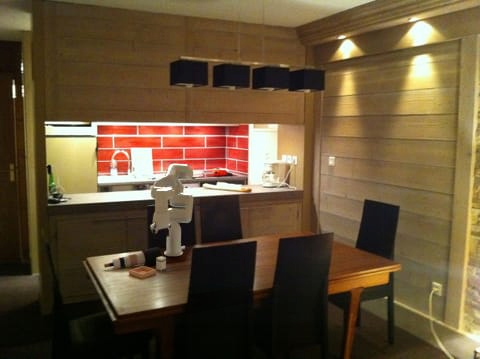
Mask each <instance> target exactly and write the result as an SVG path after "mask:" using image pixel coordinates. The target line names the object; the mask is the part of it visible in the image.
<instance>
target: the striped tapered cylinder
mask: <svg viewBox="0 0 480 359" xmlns="http://www.w3.org/2000/svg"><path fill="white" fill-rule="evenodd" d="M161 256H162V253H161V249H160V247H152V248H147V249H142V250H141V252H139V253H132V254H130V255H125V256H122V257H118V258H112V262H109V263H105V264H103V267H104V269H105V268H112V267H113V269H114V270H117V269H123V268H128V267H135V266H140V265H141V266H144V265H145V267H149V266H152V265H156V258H158V257H161Z"/></svg>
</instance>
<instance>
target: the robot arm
mask: <svg viewBox="0 0 480 359" xmlns="http://www.w3.org/2000/svg"><path fill="white" fill-rule="evenodd" d="M193 177H194V169H193V167H192V166H190V165H189V164H184V163H183V164H182V163H172V164H170V165H168V167H167V169H166V172H165V175H164V176H163V177H161V178H158V180H156V181H155V182H154V183H153V185H152V187H151V191H150V197H151V198H152V199H154V205H155V206H154V212H153V215H152V224H150V227H149V228H150V231H151V232H152V233H153V234H152V239H153V240H157V241H158V234H159V233H158V231H159V230H164V236H165V237H166V250H165V251H164V252H163V253H164V254H163V255H165V256H168V257H178V256H183V254H184V252H183V251H182V250H185V248H186V246H185V245H182V242H181V241H182V240H181V239H182V227H181V226H180V223H186V224H188V223H190V222H191V221H192V216H193V209H194V197H193V194H192V193H187V192H185V193H184V191H185V190H184V188H185V187H184V185H183V182H181V181H180V180H182V181H183V180H184V181H185V180H186V181H187V180H188V181H189V180H192V179H193ZM169 204H170V206H171V207H169Z"/></svg>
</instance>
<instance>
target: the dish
mask: <svg viewBox="0 0 480 359" xmlns="http://www.w3.org/2000/svg"><path fill="white" fill-rule="evenodd" d="M154 274H155V275H157V269H155V268H152V267H149V266H144V265H141V266H138V267H135V268H133V269H129V270H128V275H129V276H132V277H135V278H139V279H141V280H143V279H146V278H149V277H151V275H152V276H154ZM148 276H149V277H148Z"/></svg>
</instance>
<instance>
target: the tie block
mask: <svg viewBox="0 0 480 359" xmlns="http://www.w3.org/2000/svg"><path fill="white" fill-rule="evenodd" d="M166 266H167V257H165V256H162V255H161V257H158V258H156V264H155V268H156V270H158V269H160V270H159V271H163V270H162V269H164V270H166V269H167V268H166ZM165 268H166V269H165Z"/></svg>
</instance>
